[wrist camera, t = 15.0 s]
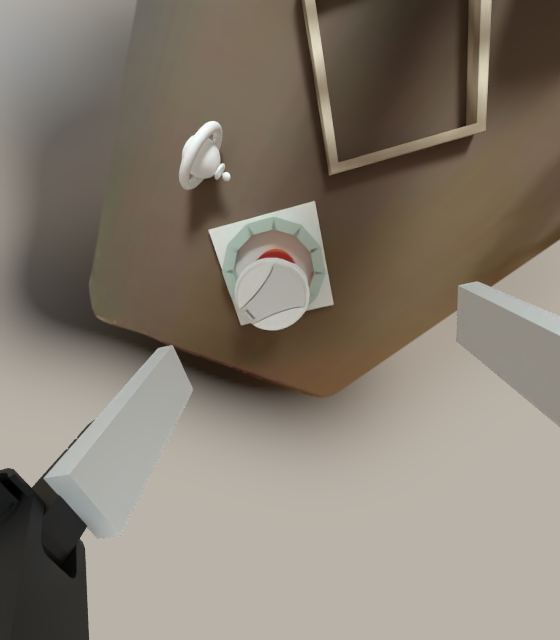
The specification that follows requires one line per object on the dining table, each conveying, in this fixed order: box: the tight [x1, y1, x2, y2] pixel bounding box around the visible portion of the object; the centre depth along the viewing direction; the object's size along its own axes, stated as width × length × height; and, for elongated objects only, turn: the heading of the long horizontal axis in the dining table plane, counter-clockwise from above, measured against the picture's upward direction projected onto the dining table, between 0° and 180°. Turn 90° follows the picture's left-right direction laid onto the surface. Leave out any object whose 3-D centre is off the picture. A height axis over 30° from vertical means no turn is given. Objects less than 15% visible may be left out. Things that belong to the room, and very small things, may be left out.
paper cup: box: [234, 249, 310, 330], centre depth 32 cm, size 8×8×14 cm
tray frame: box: [302, 0, 492, 176], centre depth 29 cm, size 18×18×2 cm
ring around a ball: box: [179, 121, 231, 190], centre depth 31 cm, size 8×6×8 cm
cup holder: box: [209, 201, 334, 325], centre depth 38 cm, size 15×15×3 cm
